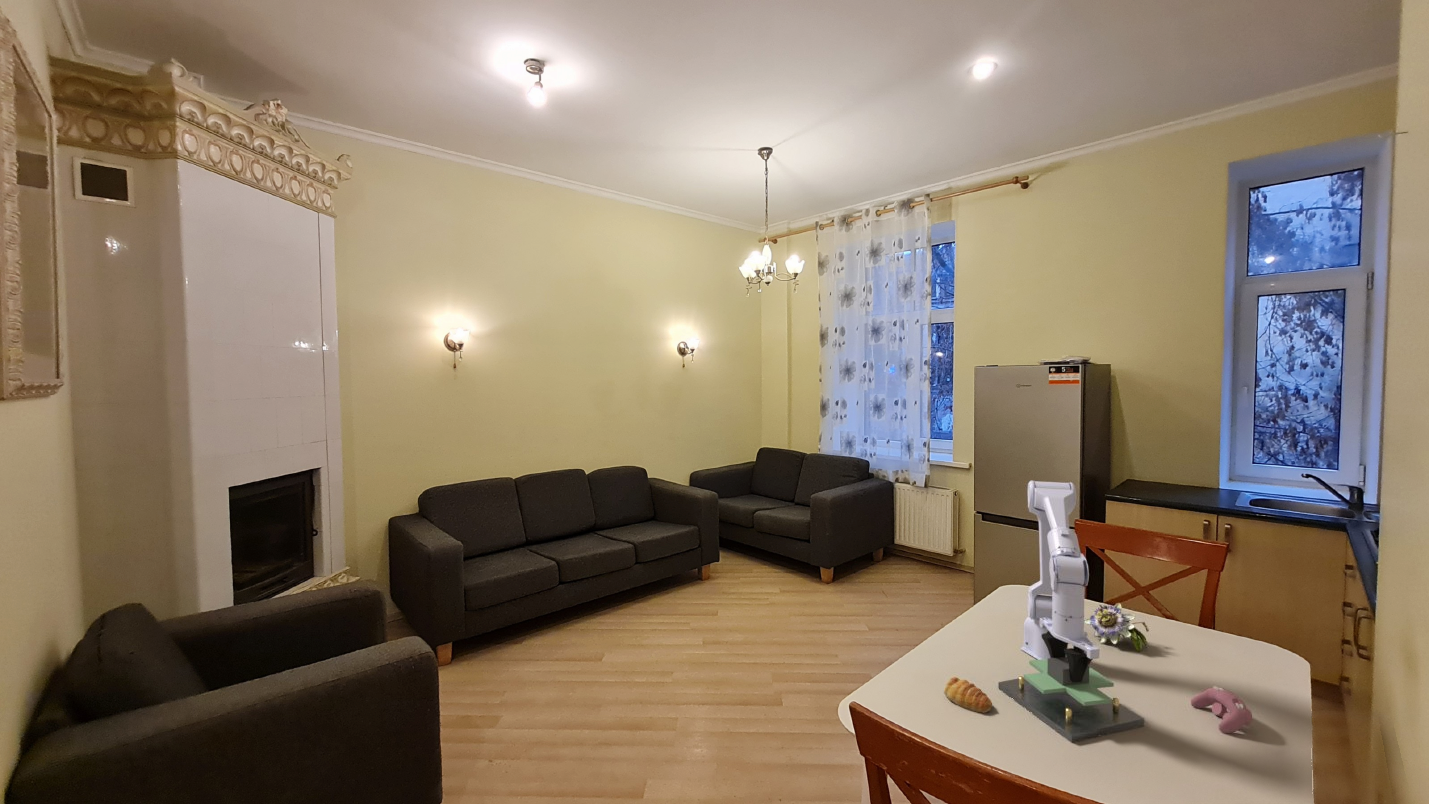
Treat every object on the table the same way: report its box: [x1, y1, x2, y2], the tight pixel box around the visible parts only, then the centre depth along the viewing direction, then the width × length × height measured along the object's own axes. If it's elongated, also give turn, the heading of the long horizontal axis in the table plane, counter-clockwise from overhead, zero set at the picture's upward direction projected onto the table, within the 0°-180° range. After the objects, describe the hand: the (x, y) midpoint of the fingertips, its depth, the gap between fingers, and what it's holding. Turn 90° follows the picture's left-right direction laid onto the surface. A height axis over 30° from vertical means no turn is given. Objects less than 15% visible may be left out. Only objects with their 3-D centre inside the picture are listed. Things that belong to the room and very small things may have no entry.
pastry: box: [943, 676, 993, 714], centre depth 121 cm, size 9×7×4 cm
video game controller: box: [1190, 685, 1253, 734], centre depth 112 cm, size 10×5×7 cm, turn 169°
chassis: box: [997, 675, 1145, 743], centre depth 118 cm, size 19×18×4 cm
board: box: [1023, 657, 1115, 706], centre depth 118 cm, size 16×16×4 cm
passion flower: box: [1084, 602, 1150, 653], centre depth 145 cm, size 11×11×12 cm
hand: (1067, 674), depth 118 cm, fingers closed on board, 4 cm apart
